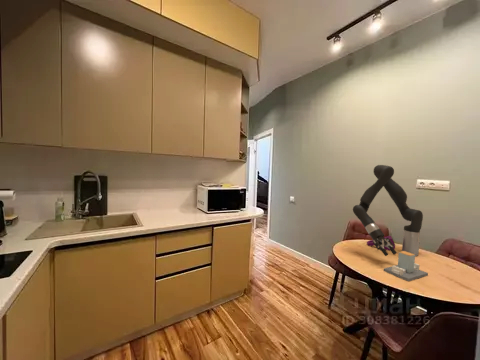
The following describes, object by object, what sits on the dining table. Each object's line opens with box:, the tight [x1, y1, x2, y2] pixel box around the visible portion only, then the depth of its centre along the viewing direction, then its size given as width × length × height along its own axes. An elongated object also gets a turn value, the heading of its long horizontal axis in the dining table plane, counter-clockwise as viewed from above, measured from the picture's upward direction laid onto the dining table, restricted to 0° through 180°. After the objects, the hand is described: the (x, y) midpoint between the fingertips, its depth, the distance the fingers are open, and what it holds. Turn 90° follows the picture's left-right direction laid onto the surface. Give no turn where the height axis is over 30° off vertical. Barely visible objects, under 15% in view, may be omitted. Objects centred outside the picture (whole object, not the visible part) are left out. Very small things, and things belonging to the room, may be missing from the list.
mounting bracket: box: [366, 235, 396, 252], centre depth 171 cm, size 9×8×18 cm
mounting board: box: [383, 263, 429, 282], centre depth 126 cm, size 20×13×5 cm, turn 116°
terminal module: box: [397, 250, 416, 273], centre depth 126 cm, size 5×6×10 cm
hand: (391, 254), depth 134 cm, fingers open, 8 cm apart
